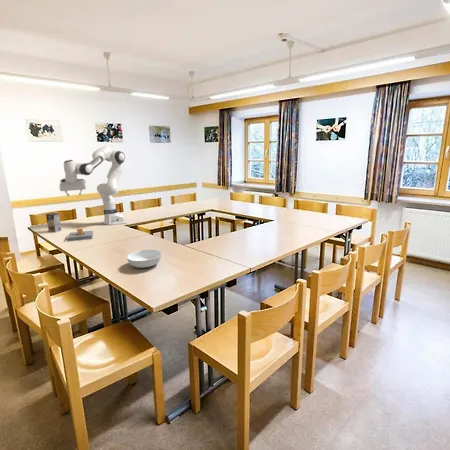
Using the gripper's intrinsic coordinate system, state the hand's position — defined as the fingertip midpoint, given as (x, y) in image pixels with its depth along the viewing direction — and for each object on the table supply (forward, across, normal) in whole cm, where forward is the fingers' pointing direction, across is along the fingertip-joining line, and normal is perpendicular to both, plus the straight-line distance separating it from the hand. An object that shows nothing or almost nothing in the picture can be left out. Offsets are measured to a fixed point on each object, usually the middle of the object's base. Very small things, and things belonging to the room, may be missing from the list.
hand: (74, 195), depth 258 cm
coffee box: (+33, +22, -12) cm, 41 cm away
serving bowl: (+32, -45, +104) cm, 118 cm away
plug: (+32, -2, +21) cm, 39 cm away
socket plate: (+32, -2, +21) cm, 39 cm away
